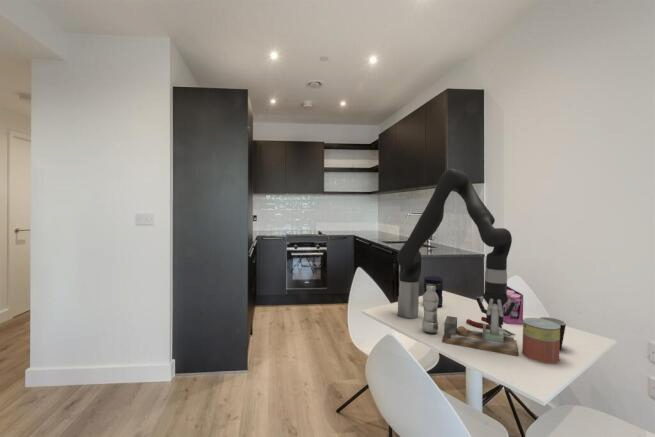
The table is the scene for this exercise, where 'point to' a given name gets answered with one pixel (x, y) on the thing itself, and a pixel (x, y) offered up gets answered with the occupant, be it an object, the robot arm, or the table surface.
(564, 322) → the coffee mug
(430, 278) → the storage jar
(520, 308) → the gum box
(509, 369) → the table surface
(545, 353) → the canned food
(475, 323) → the pliers
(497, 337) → the grey post on base
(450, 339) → the base
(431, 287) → the plastic bottle
